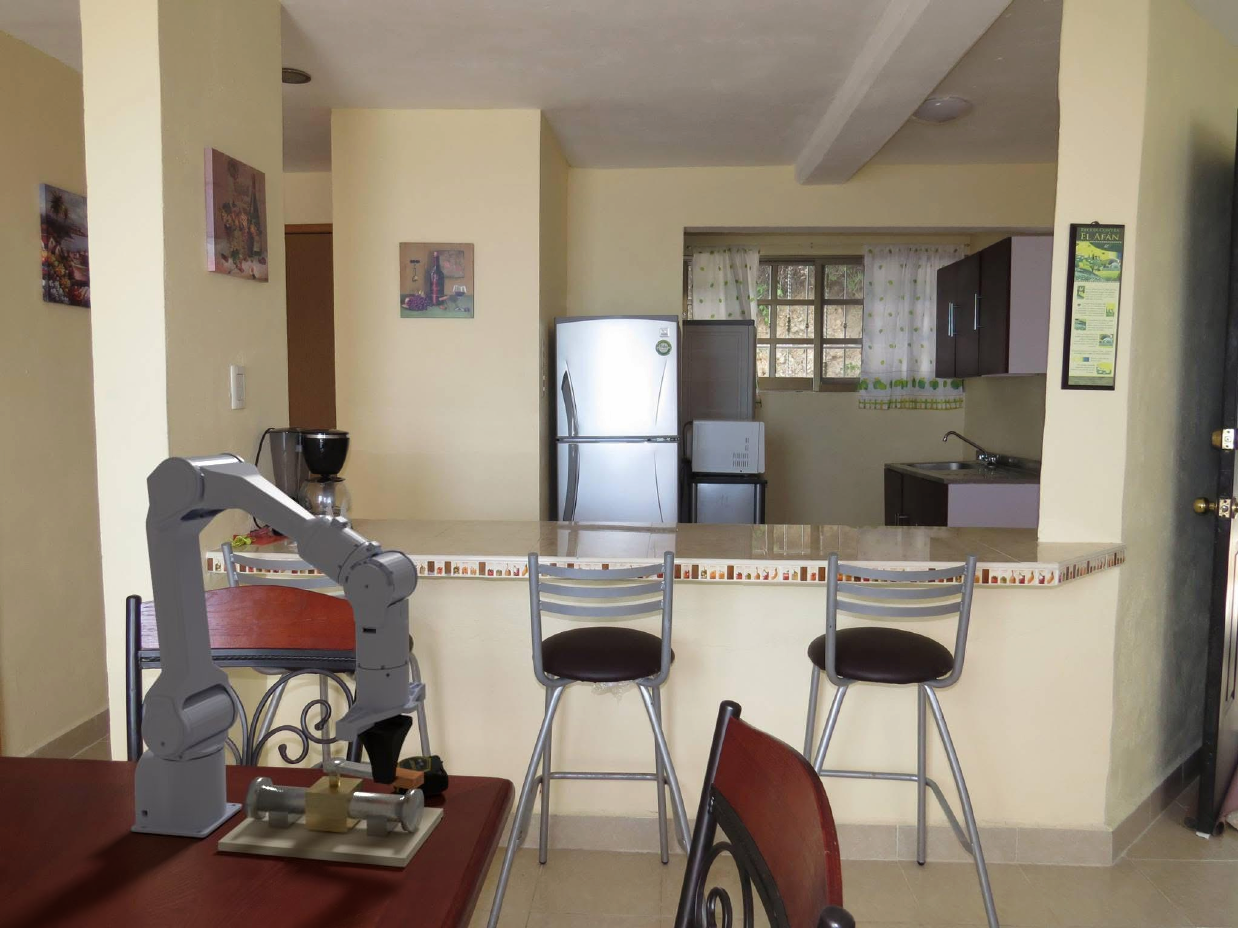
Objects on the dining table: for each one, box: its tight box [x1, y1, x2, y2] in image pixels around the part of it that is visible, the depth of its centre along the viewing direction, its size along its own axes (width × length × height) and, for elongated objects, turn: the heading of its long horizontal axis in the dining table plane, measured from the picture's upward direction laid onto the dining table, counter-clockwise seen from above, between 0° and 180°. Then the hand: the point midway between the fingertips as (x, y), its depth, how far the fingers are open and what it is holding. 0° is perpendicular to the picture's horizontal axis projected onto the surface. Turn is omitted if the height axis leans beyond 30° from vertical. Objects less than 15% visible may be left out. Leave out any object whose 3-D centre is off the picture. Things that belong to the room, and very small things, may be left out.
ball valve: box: [243, 773, 425, 838], centre depth 105 cm, size 20×5×6 cm, turn 81°
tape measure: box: [393, 754, 450, 798], centre depth 116 cm, size 7×7×4 cm
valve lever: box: [322, 756, 424, 790], centre depth 103 cm, size 13×2×1 cm, turn 69°
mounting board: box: [217, 806, 444, 868], centre depth 105 cm, size 22×12×1 cm, turn 81°
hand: (384, 782), depth 100 cm, fingers closed, pressing on valve lever
